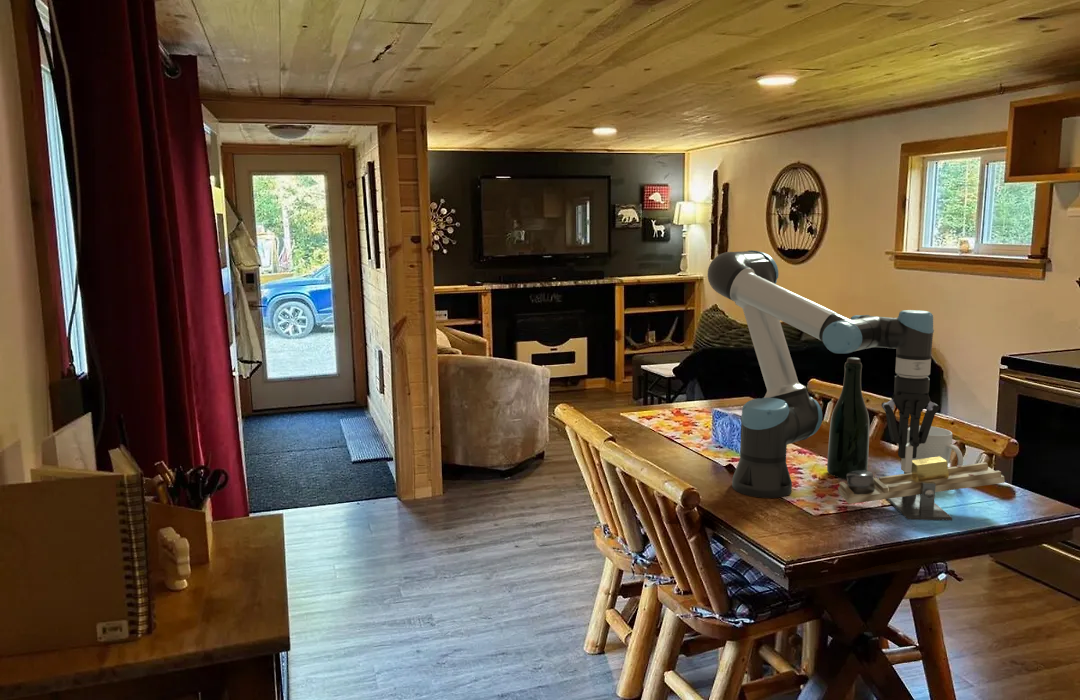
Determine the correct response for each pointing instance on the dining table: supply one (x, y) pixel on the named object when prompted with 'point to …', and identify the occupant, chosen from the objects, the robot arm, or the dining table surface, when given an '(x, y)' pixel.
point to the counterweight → (861, 482)
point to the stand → (920, 504)
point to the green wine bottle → (849, 426)
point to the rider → (929, 469)
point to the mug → (937, 445)
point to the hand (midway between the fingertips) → (906, 470)
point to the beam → (907, 487)
